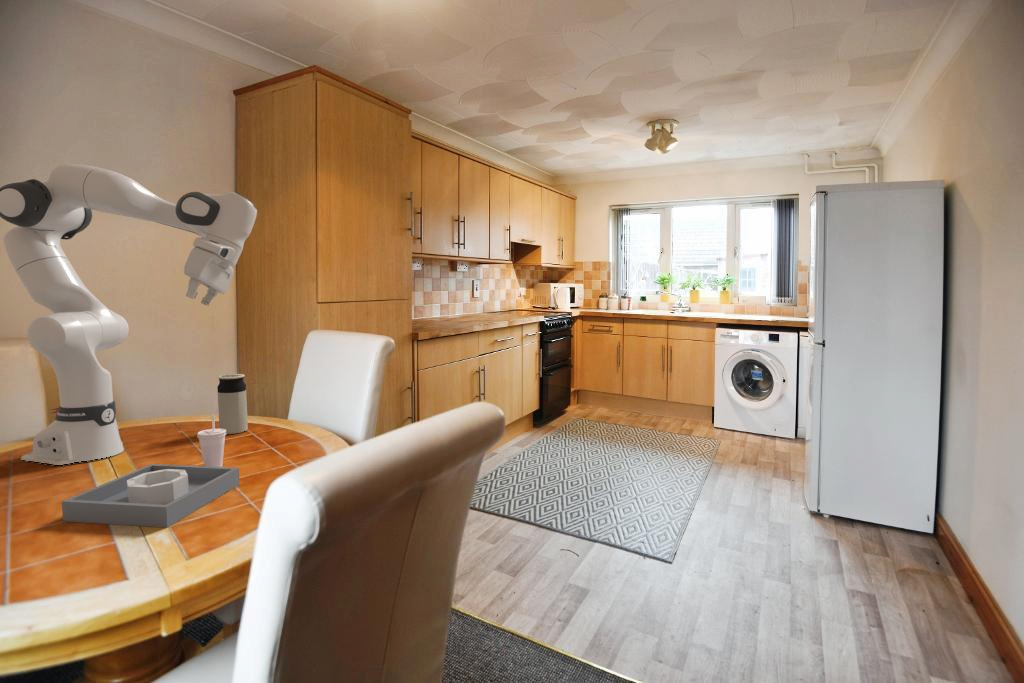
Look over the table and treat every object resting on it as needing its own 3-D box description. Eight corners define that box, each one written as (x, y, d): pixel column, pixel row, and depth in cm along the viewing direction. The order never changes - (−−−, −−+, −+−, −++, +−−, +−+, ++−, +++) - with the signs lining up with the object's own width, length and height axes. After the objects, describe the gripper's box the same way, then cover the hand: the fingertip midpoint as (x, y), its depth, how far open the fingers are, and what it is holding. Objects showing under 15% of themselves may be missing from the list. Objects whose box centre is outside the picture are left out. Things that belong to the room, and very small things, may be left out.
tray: (63, 521, 101) (61, 495, 100) (152, 480, 123) (151, 458, 122) (167, 527, 99) (165, 501, 98) (239, 484, 120) (238, 462, 120)
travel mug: (239, 435, 161) (237, 377, 159) (214, 434, 161) (211, 377, 159) (252, 428, 169) (250, 373, 167) (228, 427, 169) (225, 373, 167)
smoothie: (215, 474, 127) (212, 418, 125) (192, 472, 128) (189, 416, 127) (234, 465, 133) (231, 412, 132) (212, 463, 134) (209, 411, 133)
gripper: (221, 259, 144) (200, 304, 142) (192, 236, 124) (167, 288, 122) (244, 267, 145) (224, 312, 143) (218, 245, 125) (194, 298, 123)
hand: (197, 301), depth 132 cm, fingers open, 8 cm apart
